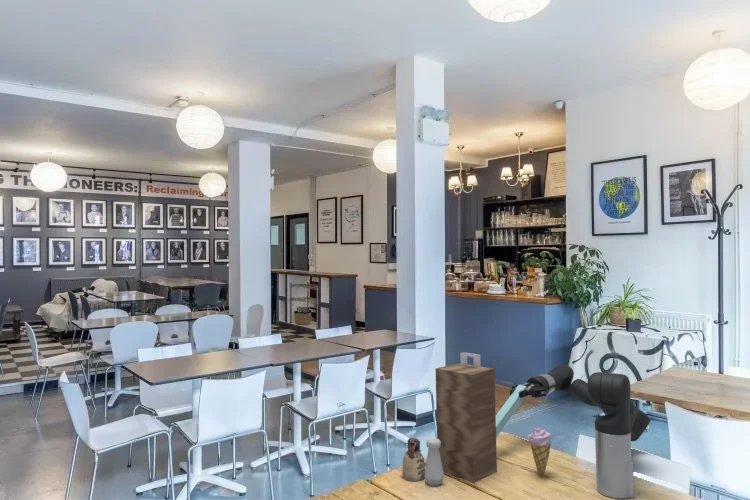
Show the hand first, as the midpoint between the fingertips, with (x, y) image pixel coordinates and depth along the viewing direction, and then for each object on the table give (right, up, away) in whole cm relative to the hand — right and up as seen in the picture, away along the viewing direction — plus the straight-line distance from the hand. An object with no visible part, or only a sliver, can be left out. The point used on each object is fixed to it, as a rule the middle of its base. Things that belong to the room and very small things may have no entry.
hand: (515, 393), depth 181 cm
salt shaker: (-32, -19, -28) cm, 47 cm away
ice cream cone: (+1, -18, -24) cm, 31 cm away
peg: (-3, -6, -3) cm, 8 cm away
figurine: (-38, -19, -23) cm, 48 cm away
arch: (-19, +13, -16) cm, 28 cm away
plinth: (-21, -19, -19) cm, 34 cm away
